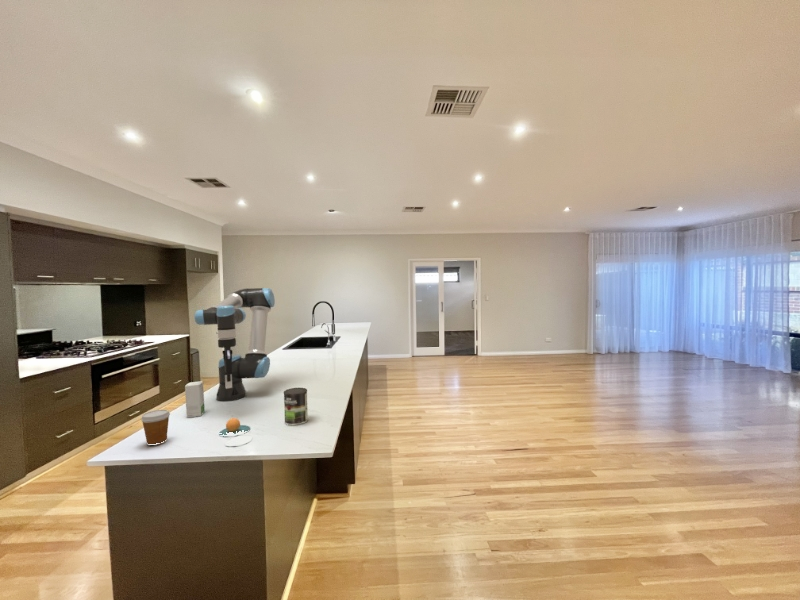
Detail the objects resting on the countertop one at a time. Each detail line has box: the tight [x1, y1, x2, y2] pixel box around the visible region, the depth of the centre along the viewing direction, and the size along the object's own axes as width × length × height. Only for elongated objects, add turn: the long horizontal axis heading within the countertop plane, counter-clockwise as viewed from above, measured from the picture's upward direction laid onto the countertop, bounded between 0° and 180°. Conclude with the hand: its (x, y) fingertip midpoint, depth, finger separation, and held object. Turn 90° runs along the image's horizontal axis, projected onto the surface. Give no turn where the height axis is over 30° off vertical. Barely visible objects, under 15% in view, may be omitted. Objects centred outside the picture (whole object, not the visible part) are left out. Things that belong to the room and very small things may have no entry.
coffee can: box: [283, 387, 309, 426], centre depth 155 cm, size 10×10×14 cm
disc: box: [218, 424, 251, 438], centre depth 146 cm, size 12×12×1 cm
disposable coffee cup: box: [140, 409, 171, 444], centre depth 136 cm, size 10×10×12 cm
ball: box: [225, 417, 241, 432], centre depth 146 cm, size 6×6×6 cm
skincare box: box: [184, 380, 206, 419], centre depth 167 cm, size 8×7×16 cm
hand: (228, 387), depth 162 cm, fingers closed
